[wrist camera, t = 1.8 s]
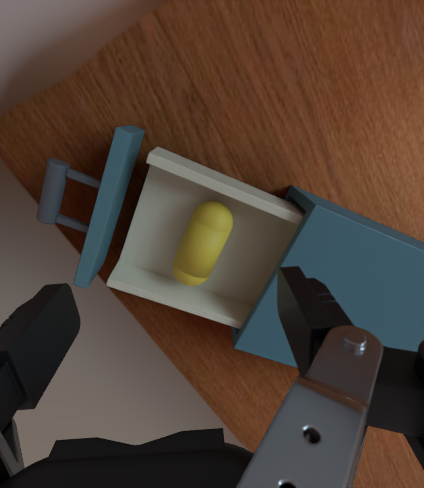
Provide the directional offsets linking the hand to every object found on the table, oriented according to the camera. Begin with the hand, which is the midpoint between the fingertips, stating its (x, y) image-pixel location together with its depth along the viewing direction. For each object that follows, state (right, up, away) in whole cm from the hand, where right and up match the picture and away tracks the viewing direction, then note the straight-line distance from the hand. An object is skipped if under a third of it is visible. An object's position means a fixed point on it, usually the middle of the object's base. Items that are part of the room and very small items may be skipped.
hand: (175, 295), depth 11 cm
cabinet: (+15, -2, +21) cm, 26 cm away
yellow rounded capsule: (+1, +2, +15) cm, 15 cm away
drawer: (-1, +4, +17) cm, 17 cm away
